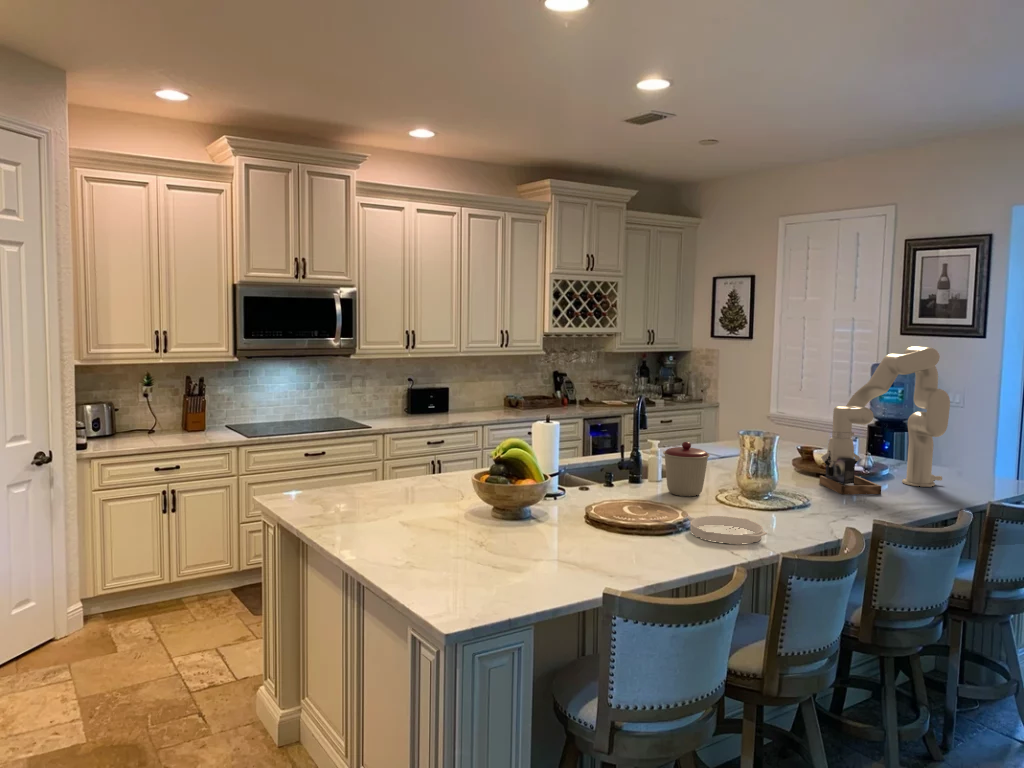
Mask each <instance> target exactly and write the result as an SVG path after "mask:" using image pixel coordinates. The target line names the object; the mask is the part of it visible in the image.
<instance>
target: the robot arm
mask: <svg viewBox="0 0 1024 768" xmlns="http://www.w3.org/2000/svg"><path fill="white" fill-rule="evenodd" d="M939 362H940V353H939V351H938V350H937V349H935V348H934V347H930V346H929V347H928V346H917V345H915V346H910V347H907V348H906V349H905V350H904V353H903V354H901V353H889V354H887V355H885V356H884V357H883V358H882V360H881V362H880V363H879V365H878V366H877V367H876V369H875V370H874V373H873V374H872V376H871V377H870V379H869V380H868V382H867V383H865V384H864V385H862V386H861V387H860V388H859V389H858V390H857V391H856V392H855V393H853V395H852V396H851V397H850V399H849V401H848V402H847V404H846V406H843V405H841V406H839V405H838V406H835V407H833V413H832V434H831V435H832V436H831V437H830V438H829V441H828V445H827V450H826V453H825V454H823V455H822V456H821V461H823V463H824V464H825V467H826V466H827V474H828V475H829V476H833V467H832V465H833V464H834V462H837V460H838V459H842V458H852V459H855V465H856V464H857V463H858V461H859V460H860V459H861V457H860V456H858V455H857V454H856V453H855V452H854V451H855V450H854V449H855V447H854V440H853V438H852V437H854V436H855V433H854V432H852V431H853V430H852V428H853V424H855V425H861V426H862V425H863V426H864V425H868V424H870V423H871V422H872V421H874V412H873V411H872V410H871V409H869V408H868V407H866V406H867V404H869V403H870V402H871V401H872V400H873V399H875V398H877V397H879V396H882V395H884V394H886V393H887V392H888V391H889V389H890V388H891V387H892V385H893V384H894V382H895V380H896V379H897V377H898V376H899V375H901V376H902V375H904V376H905V375H911V374H914V373H915V383H914V384H915V385H914V393H913V403H914V405H915V406H916V407H917V408H920V409H923V410H926V411H915V412H913V413H912V414H910V415H909V417H908V418H907V432H908V449H907V463H906V464H907V465H906V478H903V479H902V480H901V483H902V484H905V485H908V486H912V487H919V486H920V488H921V487H922V488H932V486H933V487H935V486H936V482H935V481H943V476H941V475H935V474H932V473H933V472H932V468H933V457H934V456H933V455H934V438H939V437H942V436H943V435H944V434H945V433H946V431H947V429H948V426H949V425H948V424H949V418H950V410H951V409H950V408H951V400H950V396H949V394H948V393H947V391H945V390H944V389H941V388H938V387H939V386H938V385H939V373H938V369H937V364H938V363H939ZM829 456H830V457H831V458H828V457H829ZM826 458H827V459H828V460H829V461H827V459H826Z"/></svg>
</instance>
